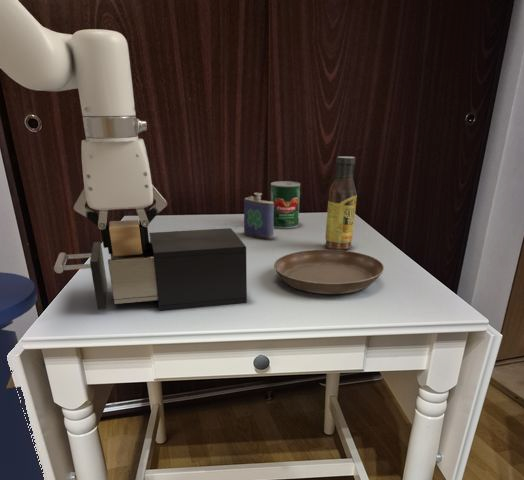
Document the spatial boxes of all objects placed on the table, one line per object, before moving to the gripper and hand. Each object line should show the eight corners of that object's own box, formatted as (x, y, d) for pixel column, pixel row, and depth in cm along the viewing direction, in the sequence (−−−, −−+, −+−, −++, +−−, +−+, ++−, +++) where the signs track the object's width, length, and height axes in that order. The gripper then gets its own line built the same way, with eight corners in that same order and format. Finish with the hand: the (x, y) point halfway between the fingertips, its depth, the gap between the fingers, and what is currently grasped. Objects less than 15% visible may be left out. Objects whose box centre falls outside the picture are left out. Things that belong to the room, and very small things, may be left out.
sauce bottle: (345, 252, 110) (353, 159, 100) (320, 248, 113) (325, 157, 103) (356, 246, 115) (364, 156, 105) (331, 242, 118) (338, 154, 108)
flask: (275, 238, 120) (276, 194, 115) (267, 240, 118) (268, 195, 113) (248, 232, 126) (247, 189, 121) (240, 234, 124) (239, 191, 119)
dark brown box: (159, 310, 80) (153, 252, 75) (154, 284, 90) (149, 232, 86) (246, 302, 83) (246, 246, 78) (232, 278, 94) (230, 227, 89)
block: (113, 256, 78) (108, 227, 76) (113, 248, 82) (109, 221, 79) (142, 254, 79) (139, 226, 77) (141, 246, 83) (138, 219, 81)
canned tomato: (280, 230, 128) (281, 186, 123) (264, 224, 134) (264, 182, 129) (304, 226, 132) (306, 184, 127) (287, 220, 138) (289, 180, 133)
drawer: (60, 313, 76) (50, 264, 72) (67, 287, 86) (58, 244, 82) (182, 302, 80) (179, 255, 77) (176, 279, 90) (172, 237, 87)
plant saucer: (261, 293, 87) (261, 275, 85) (286, 260, 104) (287, 245, 103) (378, 305, 82) (380, 287, 80) (384, 268, 100) (386, 253, 98)
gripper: (166, 127, 77) (176, 241, 85) (53, 129, 73) (75, 248, 81) (171, 130, 70) (181, 253, 79) (47, 132, 66) (71, 261, 75)
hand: (127, 249), depth 80 cm, fingers closed on block, 4 cm apart
